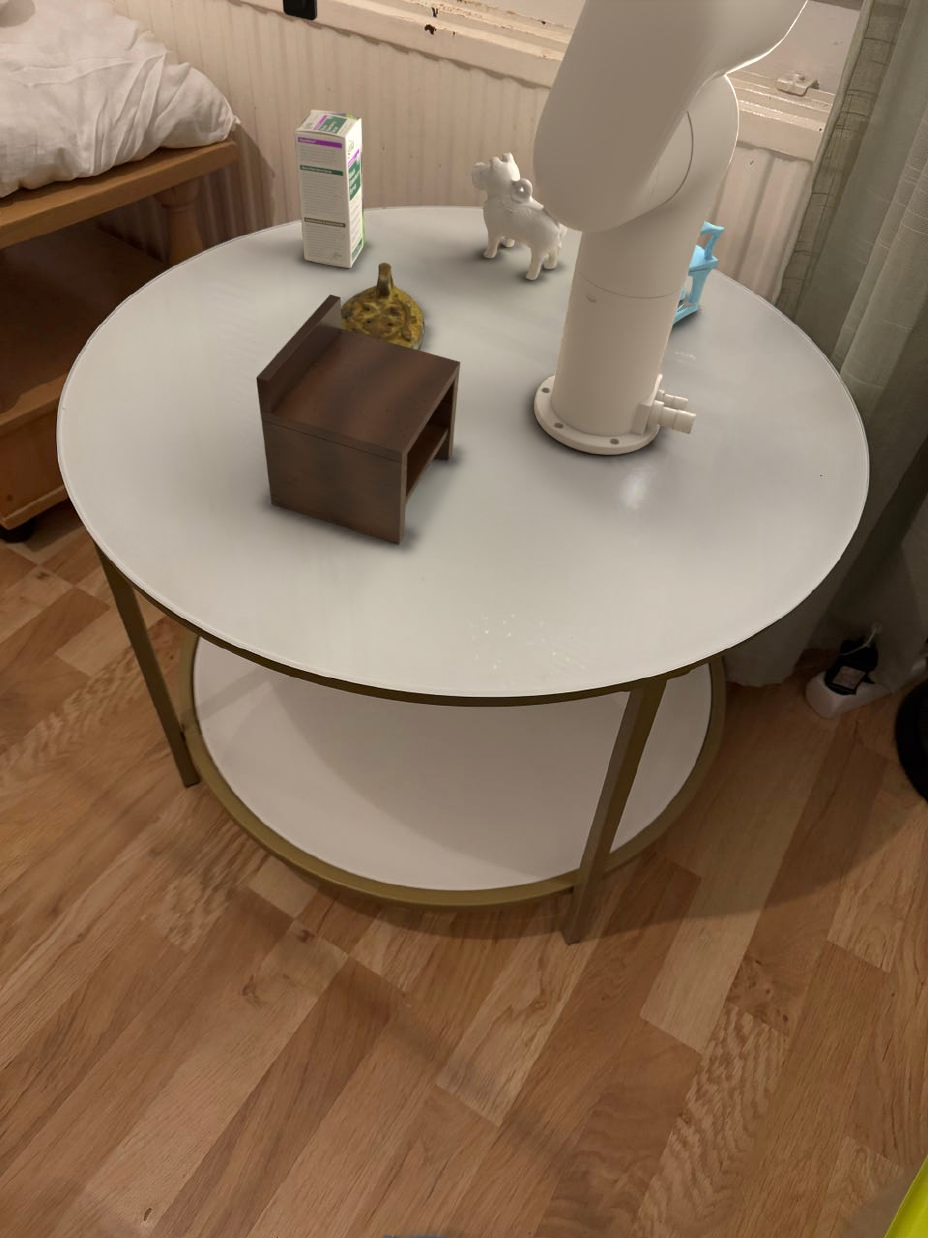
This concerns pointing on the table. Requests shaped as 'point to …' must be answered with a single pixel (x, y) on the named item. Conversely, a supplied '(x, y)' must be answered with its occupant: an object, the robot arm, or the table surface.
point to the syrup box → (330, 187)
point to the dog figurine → (516, 214)
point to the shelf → (353, 423)
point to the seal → (385, 313)
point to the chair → (700, 268)
